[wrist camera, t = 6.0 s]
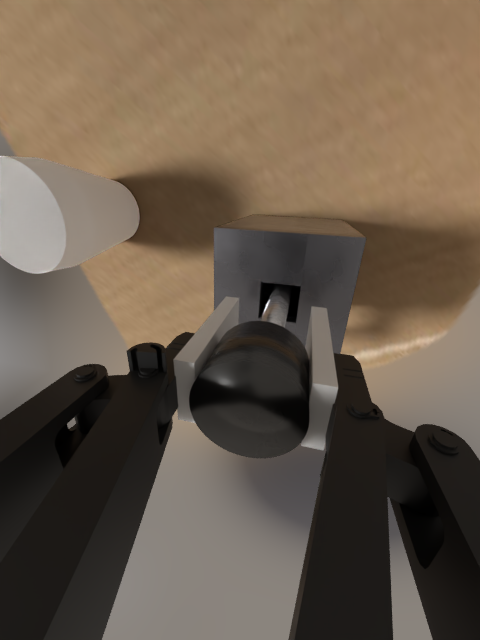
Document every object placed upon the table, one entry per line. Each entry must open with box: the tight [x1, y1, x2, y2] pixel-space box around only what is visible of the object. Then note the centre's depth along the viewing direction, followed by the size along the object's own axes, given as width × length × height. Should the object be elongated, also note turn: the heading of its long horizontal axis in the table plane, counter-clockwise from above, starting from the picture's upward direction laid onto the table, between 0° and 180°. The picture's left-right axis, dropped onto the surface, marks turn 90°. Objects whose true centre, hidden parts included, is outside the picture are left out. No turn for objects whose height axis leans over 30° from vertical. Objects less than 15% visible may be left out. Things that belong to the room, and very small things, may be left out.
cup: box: [0, 156, 140, 274], centre depth 27 cm, size 9×9×12 cm
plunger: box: [189, 282, 309, 458], centre depth 18 cm, size 6×6×20 cm
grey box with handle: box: [214, 215, 366, 354], centre depth 25 cm, size 12×9×13 cm
